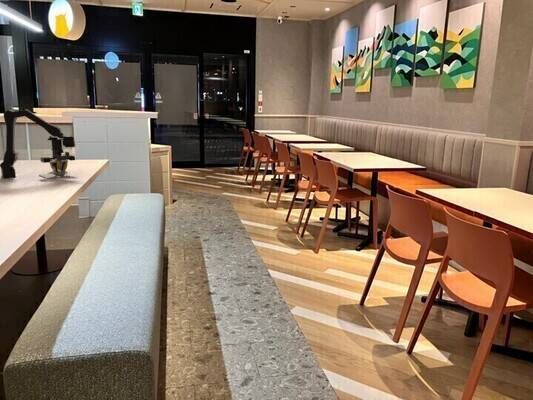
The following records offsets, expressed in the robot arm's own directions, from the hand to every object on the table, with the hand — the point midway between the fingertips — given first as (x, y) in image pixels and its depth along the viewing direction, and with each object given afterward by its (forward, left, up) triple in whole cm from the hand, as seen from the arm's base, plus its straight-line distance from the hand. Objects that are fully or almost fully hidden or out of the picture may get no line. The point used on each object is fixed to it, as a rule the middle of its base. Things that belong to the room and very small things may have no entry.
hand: (59, 172), depth 270 cm
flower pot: (+6, +17, -2) cm, 18 cm away
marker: (0, +1, -1) cm, 1 cm away
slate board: (-3, 0, -2) cm, 4 cm away
